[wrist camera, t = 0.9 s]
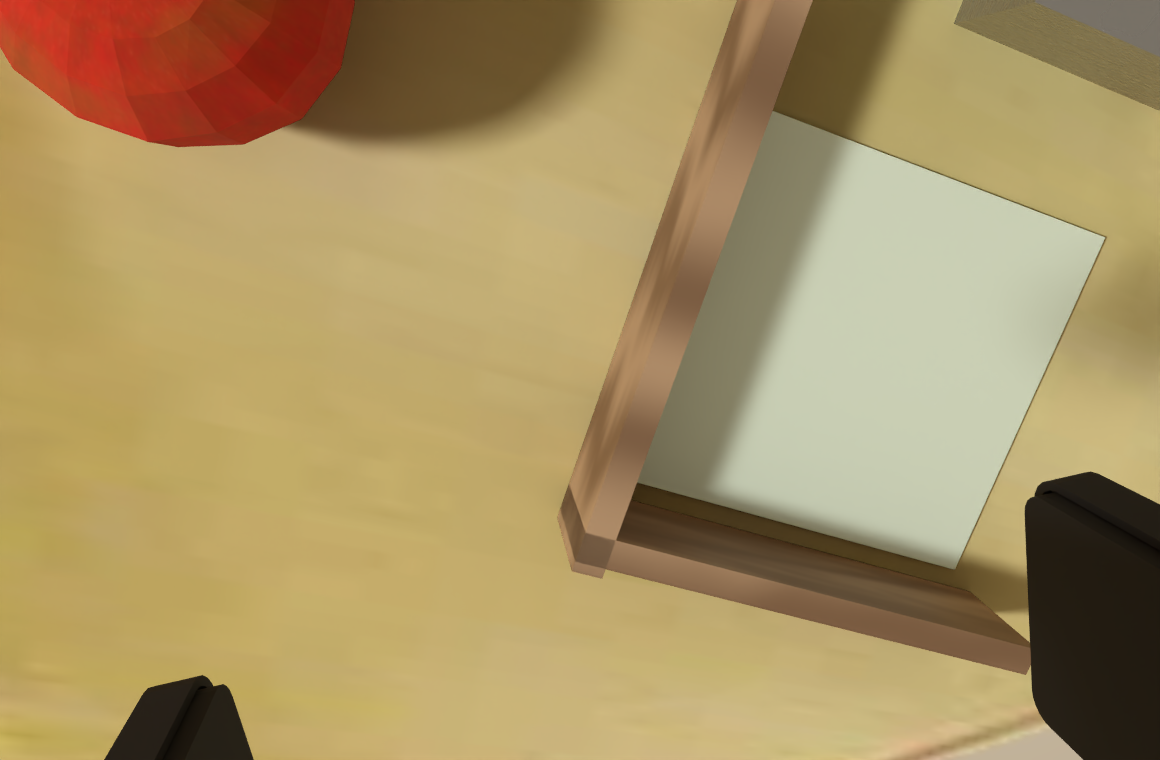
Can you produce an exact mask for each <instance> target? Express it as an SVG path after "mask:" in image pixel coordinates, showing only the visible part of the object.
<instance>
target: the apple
mask: <svg viewBox="0 0 1160 760" xmlns="http://www.w3.org/2000/svg"><path fill="white" fill-rule="evenodd" d="M354 4H355V0H0V48H1V49H2V51H3V53H4V54H5V56H6V58H7V59H8V61H9V63H10V64H11V66H12V68H13V69H14V70H15V71H17V72H18V73H19V74H21V75H22V76H23V77H25V78H26V79H27V80H29V81H30V82H31V83H33V84H34V85H35V86H36V87H38V88H39V89H40V90H42V91H43V92H44V93H46V94H47V95H48V96H50V97H51V98H52V99H54V100H55V101H56V102H58V103H59V104H60V105H62V106H63V107H64V108H66V109H67V110H68V111H70V112H71V113H72V114H74V115H75V116H76V117H78V118H81V119H84V120H87V121H90V122H93V123H95V124H98V125H101V126H104V127H107V128H110V129H113V130H116V131H119V132H121V133H124V134H127V135H130V136H133V137H136V138H139V139H142V140H145V141H147V142H152V143H158V144H164V145H170V146H175V147H190V146H216V145H241V144H246V143H248V142H250V141H253V140H255V139H257V138H259V137H262V136H264V135H266V134H269V133H271V132H273V131H275V130H278V129H280V128H282V127H285V126H287V125H289V124H291V123H294V122H296V121H298V120H301V119H302V118H303V117H304V115H305V114H306V113H307V112H308V110H309V109H310V108H311V106H312V105H313V104H314V102H315V101H316V100H317V99H318V97H319V96H320V95H321V93H322V92H323V91H324V89H325V88H326V87H327V86H328V84H329V83H330V82H331V80H332V79H333V78H334V77H335V75H336V74H337V73H338V71H339V70H340V69H341V65H342V60H343V56H344V51H345V46H346V42H347V37H348V32H349V28H350V23H351V18H352V14H353V9H354Z"/></svg>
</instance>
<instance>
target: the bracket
mask: <svg viewBox="0 0 1160 760" xmlns="http://www.w3.org/2000/svg"><path fill="white" fill-rule="evenodd" d="M954 24H956V25H959V26H961V27H963V28H966V29H968V30H970V31H973V32H975V33H978V34H980V35H982V36H985V37H987V38H989V39H992V40H994V41H996V42H999V43H1001V44H1003V45H1006V46H1008V47H1011V48H1013V49H1015V50H1018V51H1020V52H1022V53H1025V54H1027V55H1029V56H1032V57H1034V58H1036V59H1039V60H1041V61H1044V62H1046V63H1048V64H1051V65H1053V66H1055V67H1058V68H1060V69H1062V70H1065V71H1067V72H1069V73H1072V74H1074V75H1077V76H1079V77H1081V78H1084V79H1086V80H1088V81H1091V82H1093V83H1095V84H1098V85H1100V86H1102V87H1105V88H1107V89H1110V90H1112V91H1114V92H1117V93H1119V94H1121V95H1124V96H1126V97H1128V98H1131V99H1133V100H1135V101H1138V102H1140V103H1143V104H1145V105H1147V106H1150V107H1152V108H1154V109H1157V110H1160V0H963V2H962V5H961V7H960V10H959V12H958V15H957V18H956V20H955V23H954Z"/></svg>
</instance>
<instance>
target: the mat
mask: <svg viewBox="0 0 1160 760" xmlns="http://www.w3.org/2000/svg"><path fill="white" fill-rule="evenodd" d="M1104 239H1105V237H1103V236H1100V235H1097V234H1095V233H1092V232H1090V231H1087V230H1084V229H1082V228H1079V227H1076V226H1074V225H1071V224H1069V223H1066V222H1063V221H1061V220H1058V219H1055V218H1053V217H1050V216H1048V215H1045V214H1042V213H1040V212H1037V211H1034V210H1032V209H1029V208H1027V207H1024V206H1021V205H1019V204H1016V203H1013V202H1011V201H1008V200H1006V199H1003V198H1000V197H998V196H995V195H992V194H990V193H987V192H985V191H982V190H979V189H977V188H974V187H971V186H969V185H966V184H964V183H961V182H958V181H956V180H953V179H950V178H948V177H945V176H943V175H940V174H937V173H935V172H932V171H929V170H927V169H924V168H922V167H919V166H916V165H914V164H911V163H908V162H906V161H903V160H901V159H898V158H895V157H893V156H890V155H887V154H885V153H882V152H880V151H877V150H874V149H872V148H869V147H866V146H864V145H861V144H859V143H856V142H853V141H851V140H848V139H845V138H843V137H840V136H838V135H835V134H832V133H830V132H827V131H824V130H822V129H819V128H817V127H814V126H811V125H809V124H806V123H803V122H801V121H798V120H796V119H793V118H790V117H788V116H785V115H782V114H780V113H777V112H775V111H772V114H771V116H770V119H769V122H768V125H767V127H766V130H765V133H764V136H763V138H762V141H761V144H760V147H759V149H758V152H757V155H756V158H755V160H754V163H753V166H752V168H751V171H750V174H749V177H748V179H747V182H746V185H745V188H744V190H743V193H742V196H741V199H740V201H739V204H738V207H737V210H736V212H735V215H734V218H733V221H732V223H731V226H730V229H729V232H728V234H727V237H726V240H725V243H724V245H723V248H722V251H721V254H720V256H719V259H718V262H717V264H716V267H715V270H714V273H713V275H712V278H711V281H710V284H709V286H708V289H707V292H706V295H705V297H704V300H703V303H702V306H701V308H700V311H699V314H698V317H697V319H696V322H695V325H694V328H693V330H692V333H691V336H690V339H689V341H688V344H687V347H686V350H685V352H684V355H683V358H682V360H681V363H680V366H679V369H678V371H677V374H676V377H675V380H674V382H673V385H672V388H671V391H670V393H669V396H668V399H667V402H666V404H665V407H664V410H663V413H662V415H661V418H660V421H659V424H658V426H657V429H656V432H655V435H654V437H653V440H652V443H651V446H650V448H649V451H648V454H647V456H646V459H645V462H644V465H643V467H642V470H641V473H640V476H639V478H638V481H637V483H641V484H644V485H648V486H652V487H655V488H659V489H663V490H666V491H670V492H674V493H677V494H681V495H684V496H688V497H692V498H695V499H699V500H703V501H706V502H710V503H714V504H717V505H721V506H724V507H728V508H732V509H735V510H739V511H743V512H746V513H750V514H754V515H757V516H761V517H764V518H768V519H772V520H775V521H779V522H783V523H786V524H790V525H794V526H797V527H801V528H804V529H808V530H812V531H815V532H819V533H823V534H826V535H830V536H834V537H837V538H841V539H844V540H848V541H852V542H855V543H859V544H863V545H866V546H870V547H874V548H877V549H881V550H884V551H888V552H892V553H895V554H899V555H903V556H906V557H910V558H914V559H917V560H921V561H924V562H928V563H932V564H935V565H939V566H943V567H946V568H950V569H954V570H955V568H956V566H957V564H958V561H959V559H960V557H961V555H962V552H963V550H964V548H965V546H966V544H967V541H968V539H969V537H970V535H971V533H972V530H973V528H974V526H975V524H976V522H977V519H978V517H979V515H980V513H981V511H982V508H983V506H984V504H985V502H986V500H987V497H988V495H989V493H990V491H991V489H992V486H993V484H994V482H995V480H996V478H997V475H998V473H999V471H1000V469H1001V466H1002V464H1003V462H1004V460H1005V458H1006V455H1007V453H1008V451H1009V449H1010V447H1011V444H1012V442H1013V440H1014V438H1015V436H1016V433H1017V431H1018V429H1019V427H1020V425H1021V422H1022V420H1023V418H1024V416H1025V414H1026V411H1027V409H1028V407H1029V405H1030V403H1031V400H1032V398H1033V396H1034V394H1035V392H1036V389H1037V387H1038V385H1039V383H1040V380H1041V378H1042V376H1043V374H1044V372H1045V369H1046V367H1047V365H1048V363H1049V361H1050V358H1051V356H1052V354H1053V352H1054V350H1055V347H1056V345H1057V343H1058V341H1059V339H1060V336H1061V334H1062V332H1063V330H1064V328H1065V325H1066V323H1067V321H1068V319H1069V317H1070V314H1071V312H1072V310H1073V308H1074V305H1075V303H1076V301H1077V299H1078V297H1079V294H1080V292H1081V290H1082V288H1083V286H1084V283H1085V281H1086V279H1087V277H1088V275H1089V272H1090V270H1091V268H1092V266H1093V264H1094V261H1095V259H1096V257H1097V255H1098V253H1099V250H1100V248H1101V246H1102V244H1103V242H1104Z"/></svg>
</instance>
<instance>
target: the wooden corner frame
mask: <svg viewBox="0 0 1160 760" xmlns="http://www.w3.org/2000/svg"><path fill="white" fill-rule="evenodd" d="M812 1H813V0H737V2H736V5H735V8H734V11H733V14H732V17H731V20H730V22H729V25H728V28H727V31H726V34H725V37H724V40H723V43H722V45H721V48H720V51H719V54H718V57H717V60H716V63H715V66H714V68H713V71H712V74H711V77H710V80H709V83H708V86H707V89H706V91H705V94H704V97H703V100H702V103H701V106H700V109H699V112H698V114H697V117H696V120H695V123H694V126H693V129H692V132H691V135H690V137H689V140H688V143H687V146H686V149H685V152H684V155H683V158H682V160H681V163H680V166H679V169H678V172H677V175H676V178H675V181H674V183H673V186H672V189H671V192H670V195H669V198H668V201H667V204H666V206H665V209H664V212H663V215H662V218H661V221H660V224H659V227H658V229H657V232H656V235H655V238H654V241H653V244H652V247H651V250H650V252H649V255H648V258H647V261H646V264H645V267H644V270H643V273H642V275H641V278H640V281H639V284H638V287H637V290H636V293H635V296H634V298H633V301H632V304H631V307H630V310H629V313H628V316H627V319H626V321H625V324H624V327H623V330H622V333H621V336H620V339H619V342H618V344H617V347H616V350H615V353H614V356H613V359H612V362H611V365H610V367H609V370H608V373H607V376H606V379H605V382H604V385H603V388H602V391H601V393H600V396H599V399H598V402H597V405H596V408H595V411H594V414H593V416H592V419H591V422H590V425H589V428H588V431H587V434H586V437H585V439H584V442H583V445H582V448H581V451H580V454H579V457H578V460H577V462H576V465H575V468H574V471H573V474H572V477H571V480H570V483H569V485H568V488H567V491H566V494H565V497H564V500H563V503H562V506H561V508H560V511H559V514H558V517H557V518H558V522H559V525H560V529H561V533H562V536H563V540H564V544H565V548H566V551H567V555H568V559H569V562H570V566H571V570H572V571H573V572H577V573H581V574H585V575H589V576H593V577H598V578H602V577H603V574H604V572H605V569H607V570H611V571H615V572H619V573H623V574H627V575H631V576H635V577H639V578H643V579H647V580H651V581H655V582H659V583H663V584H666V585H670V586H674V587H678V588H682V589H686V590H690V591H694V592H698V593H702V594H706V595H710V596H714V597H718V598H722V599H726V600H730V601H734V602H738V603H742V604H746V605H750V606H754V607H758V608H762V609H766V610H770V611H774V612H778V613H782V614H786V615H790V616H794V617H798V618H802V619H806V620H810V621H814V622H818V623H822V624H826V625H830V626H834V627H838V628H842V629H846V630H850V631H854V632H858V633H861V634H865V635H869V636H873V637H877V638H881V639H885V640H889V641H893V642H897V643H901V644H905V645H909V646H913V647H917V648H921V649H925V650H929V651H933V652H937V653H941V654H945V655H949V656H953V657H957V658H961V659H965V660H969V661H973V662H977V663H981V664H985V665H989V666H993V667H997V668H1001V669H1005V670H1009V671H1013V672H1017V673H1021V674H1025V675H1026V674H1027V671H1028V669H1029V667H1030V665H1031V651H1030V643H1029V642H1028V641H1027V640H1026V639H1025V638H1023V637H1022V636H1021V635H1020V634H1019V633H1018V632H1016V631H1015V630H1014V629H1013V628H1012V627H1011V626H1009V625H1008V624H1007V623H1006V622H1005V621H1004V620H1002V619H1001V618H1000V617H999V616H998V615H997V614H995V613H994V612H993V611H992V610H991V609H990V608H988V607H987V606H986V605H985V604H984V603H983V602H981V601H980V600H979V599H978V598H977V597H976V596H974V595H973V594H972V593H971V592H969V591H965V590H962V589H958V588H954V587H950V586H947V585H943V584H939V583H936V582H932V581H928V580H925V579H921V578H917V577H913V576H910V575H906V574H902V573H899V572H895V571H891V570H888V569H884V568H880V567H876V566H873V565H869V564H865V563H862V562H858V561H854V560H850V559H847V558H843V557H839V556H836V555H832V554H828V553H825V552H821V551H817V550H813V549H810V548H806V547H802V546H799V545H795V544H791V543H788V542H784V541H780V540H776V539H773V538H769V537H765V536H762V535H758V534H754V533H751V532H747V531H743V530H739V529H736V528H732V527H728V526H725V525H721V524H717V523H714V522H710V521H706V520H702V519H699V518H695V517H691V516H688V515H684V514H680V513H677V512H673V511H669V510H665V509H662V508H658V507H654V506H651V505H647V504H643V503H639V502H636V501H632V500H631V498H632V495H633V492H634V489H635V487H636V484H637V481H638V478H639V476H640V473H641V470H642V467H643V465H644V462H645V459H646V456H647V454H648V451H649V448H650V446H651V443H652V440H653V437H654V435H655V432H656V429H657V426H658V424H659V421H660V418H661V415H662V413H663V410H664V407H665V404H666V402H667V399H668V396H669V393H670V391H671V388H672V385H673V382H674V380H675V377H676V374H677V371H678V369H679V366H680V363H681V360H682V358H683V355H684V352H685V350H686V347H687V344H688V341H689V339H690V336H691V333H692V330H693V328H694V325H695V322H696V319H697V317H698V314H699V311H700V308H701V306H702V303H703V300H704V297H705V295H706V292H707V289H708V286H709V284H710V281H711V278H712V275H713V273H714V270H715V267H716V264H717V262H718V259H719V256H720V254H721V251H722V248H723V245H724V243H725V240H726V237H727V234H728V232H729V229H730V226H731V223H732V221H733V218H734V215H735V212H736V210H737V207H738V204H739V201H740V199H741V196H742V193H743V190H744V188H745V185H746V182H747V179H748V177H749V174H750V171H751V168H752V166H753V163H754V160H755V158H756V155H757V152H758V149H759V147H760V144H761V141H762V138H763V136H764V133H765V130H766V127H767V125H768V122H769V119H770V116H771V114H772V111H773V108H774V105H775V103H776V100H777V97H778V94H779V92H780V89H781V86H782V83H783V81H784V78H785V75H786V72H787V70H788V67H789V64H790V62H791V59H792V56H793V53H794V51H795V48H796V45H797V42H798V40H799V37H800V34H801V31H802V29H803V26H804V23H805V20H806V18H807V15H808V12H809V9H810V7H811V4H812Z"/></svg>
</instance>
